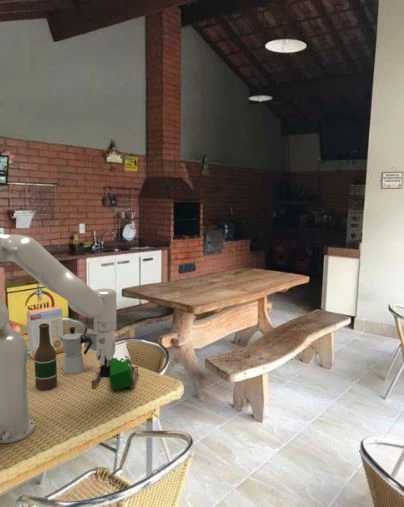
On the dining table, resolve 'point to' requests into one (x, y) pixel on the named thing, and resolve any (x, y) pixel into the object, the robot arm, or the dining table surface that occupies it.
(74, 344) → the coffee maker
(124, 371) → the soya milk
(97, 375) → the frame
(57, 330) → the cracker box
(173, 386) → the dining table surface
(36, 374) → the beer bottle
